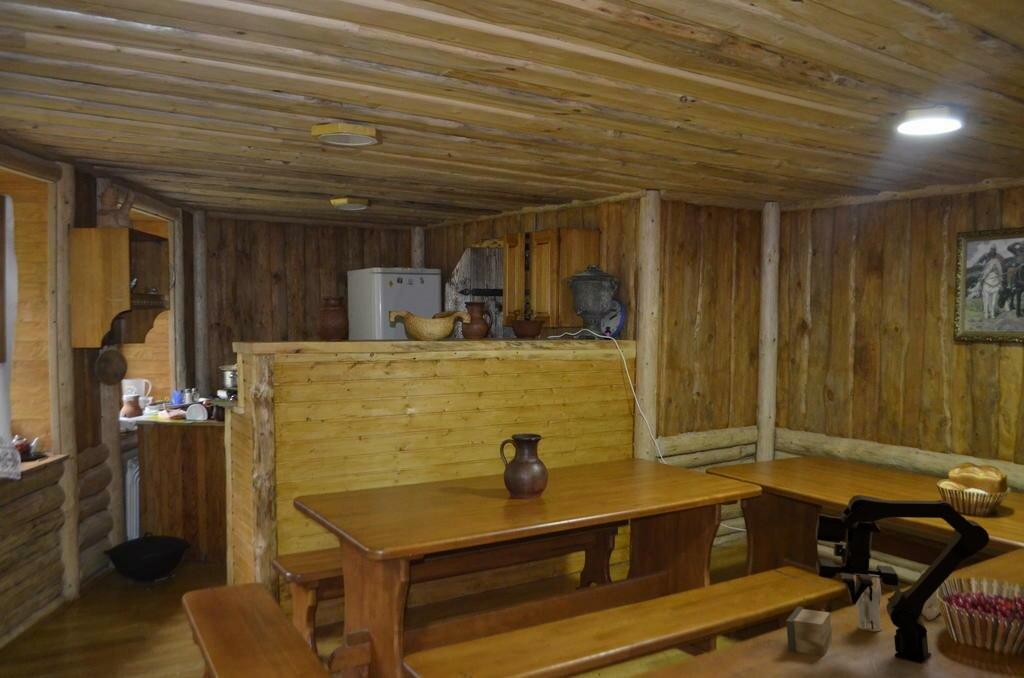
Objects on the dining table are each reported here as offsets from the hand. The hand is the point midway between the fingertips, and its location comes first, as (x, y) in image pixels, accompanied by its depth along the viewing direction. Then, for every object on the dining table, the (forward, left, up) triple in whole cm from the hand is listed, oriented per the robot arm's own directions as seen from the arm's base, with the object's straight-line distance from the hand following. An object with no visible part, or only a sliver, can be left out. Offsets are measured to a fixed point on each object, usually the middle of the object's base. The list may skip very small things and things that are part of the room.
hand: (853, 603), depth 194 cm
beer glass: (+4, -17, -12) cm, 21 cm away
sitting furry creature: (-3, -38, -12) cm, 40 cm away
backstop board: (+13, +6, -12) cm, 19 cm away
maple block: (+9, +5, -12) cm, 16 cm away
